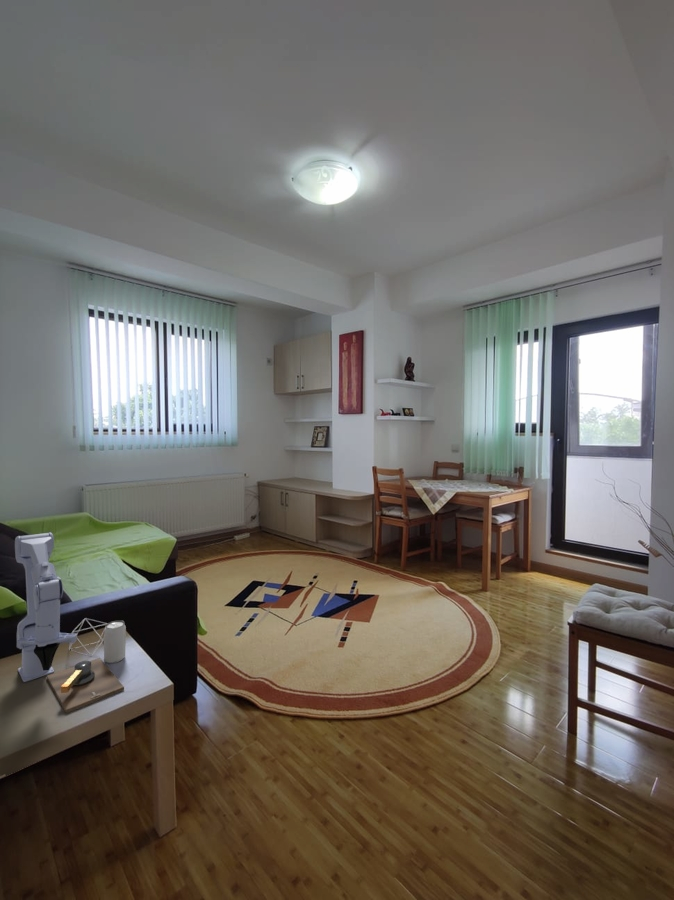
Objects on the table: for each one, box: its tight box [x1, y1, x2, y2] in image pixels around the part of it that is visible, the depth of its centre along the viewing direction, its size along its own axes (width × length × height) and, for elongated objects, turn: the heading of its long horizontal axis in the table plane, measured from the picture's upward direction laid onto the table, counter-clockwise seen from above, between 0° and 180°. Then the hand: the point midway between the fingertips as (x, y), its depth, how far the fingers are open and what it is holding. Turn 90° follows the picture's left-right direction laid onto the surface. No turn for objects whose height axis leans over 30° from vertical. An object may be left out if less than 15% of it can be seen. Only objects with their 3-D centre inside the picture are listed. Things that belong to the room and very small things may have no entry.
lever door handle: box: [61, 660, 95, 693], centre depth 123 cm, size 13×7×4 cm, turn 7°
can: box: [103, 620, 127, 664], centre depth 140 cm, size 6×6×12 cm
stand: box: [46, 657, 125, 714], centre depth 126 cm, size 22×15×1 cm
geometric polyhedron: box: [68, 617, 108, 657], centre depth 146 cm, size 12×11×9 cm
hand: (47, 668), depth 118 cm, fingers closed
